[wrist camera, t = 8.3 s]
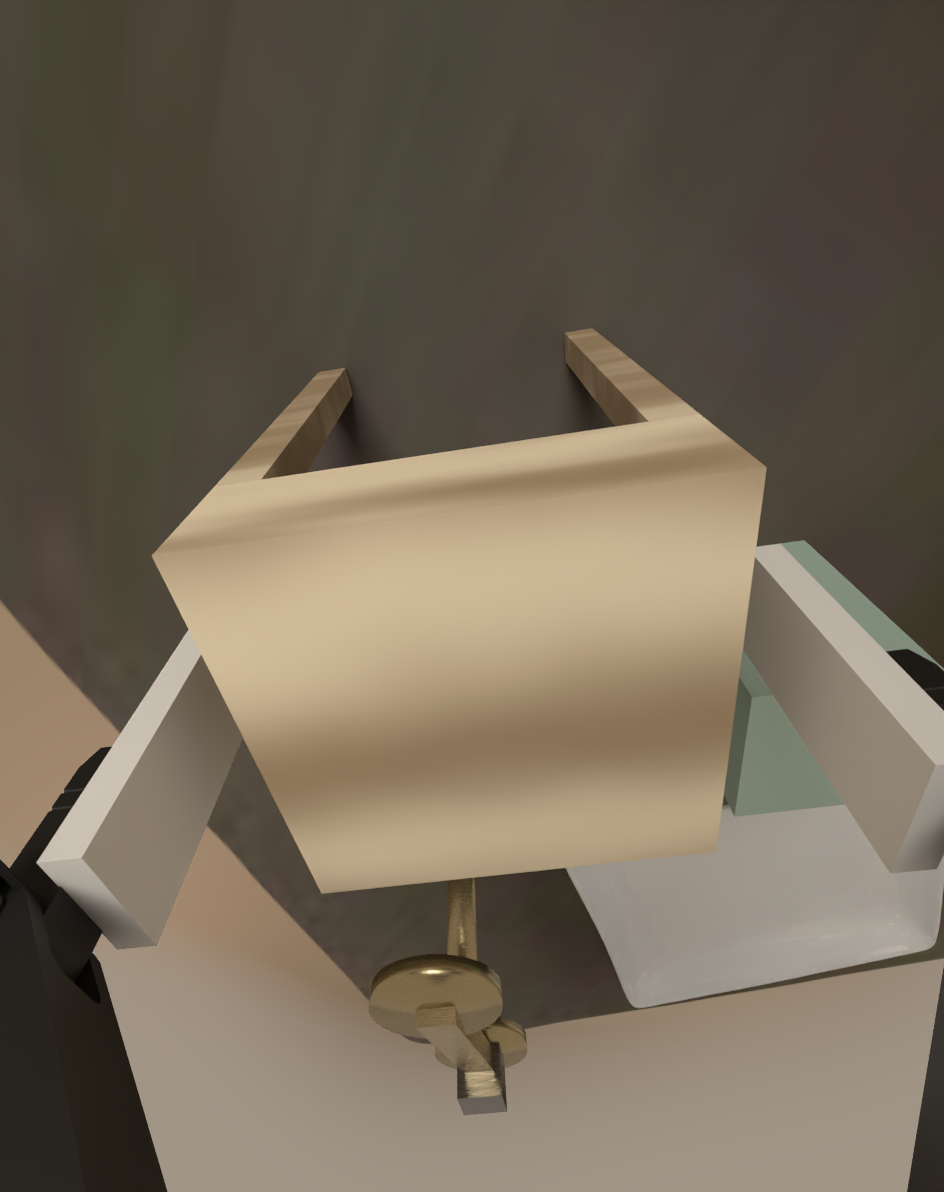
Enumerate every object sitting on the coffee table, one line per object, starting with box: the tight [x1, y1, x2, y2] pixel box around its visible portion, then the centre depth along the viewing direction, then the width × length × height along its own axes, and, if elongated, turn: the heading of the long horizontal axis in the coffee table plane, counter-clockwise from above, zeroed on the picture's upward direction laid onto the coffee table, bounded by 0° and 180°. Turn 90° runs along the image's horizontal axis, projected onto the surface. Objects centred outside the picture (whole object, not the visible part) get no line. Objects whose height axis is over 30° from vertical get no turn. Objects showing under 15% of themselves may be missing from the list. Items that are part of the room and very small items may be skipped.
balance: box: [369, 877, 527, 1115], centre depth 26 cm, size 15×6×15 cm, turn 8°
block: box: [724, 540, 944, 817], centre depth 24 cm, size 6×6×9 cm
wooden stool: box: [152, 328, 767, 894], centre depth 18 cm, size 10×10×14 cm
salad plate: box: [566, 796, 944, 1008], centre depth 37 cm, size 21×21×3 cm
